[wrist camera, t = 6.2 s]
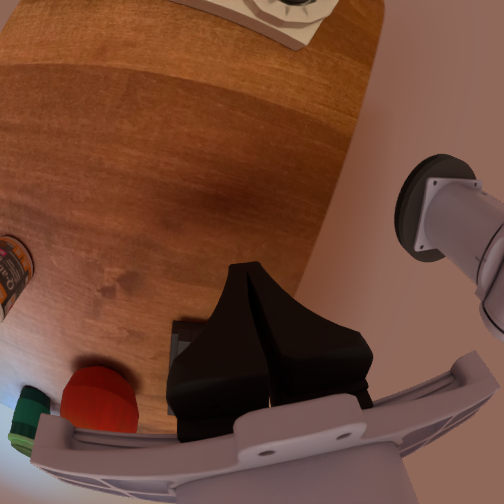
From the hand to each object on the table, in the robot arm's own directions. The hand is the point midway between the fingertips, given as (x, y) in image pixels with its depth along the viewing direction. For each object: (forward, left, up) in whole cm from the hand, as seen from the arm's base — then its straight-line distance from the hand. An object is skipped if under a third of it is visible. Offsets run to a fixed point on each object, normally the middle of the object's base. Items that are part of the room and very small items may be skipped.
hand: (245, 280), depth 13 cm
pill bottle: (+23, +2, -11) cm, 25 cm away
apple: (+19, +21, -11) cm, 30 cm away
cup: (+37, +29, -11) cm, 48 cm away
